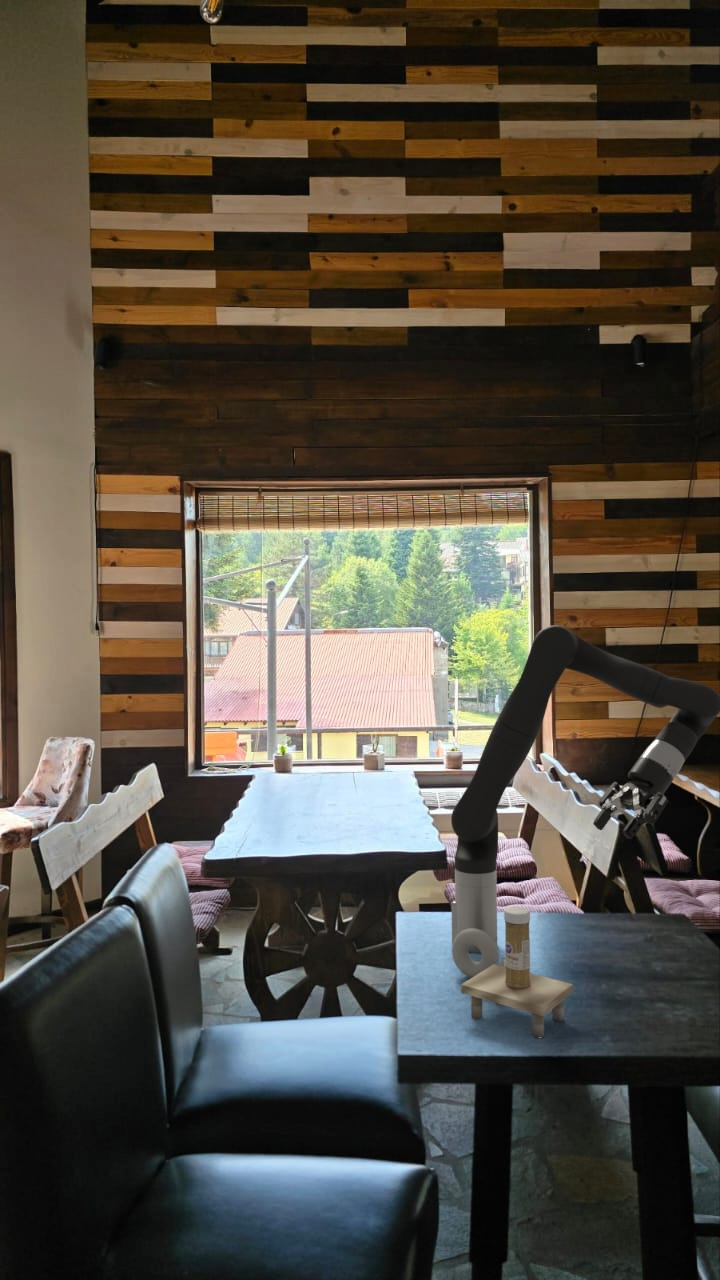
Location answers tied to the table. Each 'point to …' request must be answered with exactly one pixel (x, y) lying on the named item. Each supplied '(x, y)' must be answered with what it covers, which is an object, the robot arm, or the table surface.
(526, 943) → the sprinkles bottle
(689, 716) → the robot arm
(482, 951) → the donut
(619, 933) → the table surface
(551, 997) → the small wooden stool
